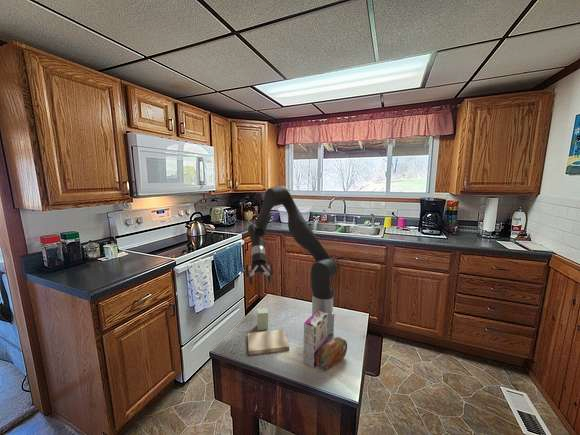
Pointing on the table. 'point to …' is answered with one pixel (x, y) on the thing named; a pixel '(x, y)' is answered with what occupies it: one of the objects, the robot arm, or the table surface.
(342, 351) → the tin
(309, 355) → the candy bar box
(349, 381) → the table surface
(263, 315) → the sage block
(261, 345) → the birch board
